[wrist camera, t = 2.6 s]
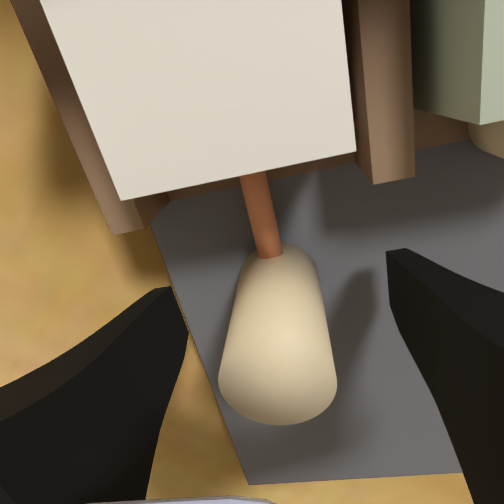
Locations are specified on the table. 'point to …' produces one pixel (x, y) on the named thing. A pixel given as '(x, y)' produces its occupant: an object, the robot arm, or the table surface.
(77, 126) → the lane shelf
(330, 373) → the white block
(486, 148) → the sage block
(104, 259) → the table surface
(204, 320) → the mat
